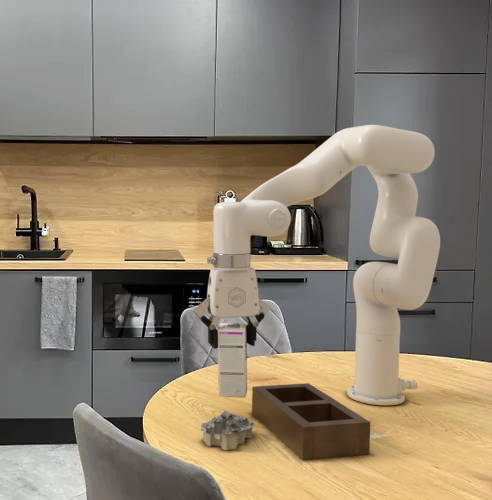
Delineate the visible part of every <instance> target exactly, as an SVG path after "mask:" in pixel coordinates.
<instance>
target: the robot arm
mask: <svg viewBox="0 0 492 500" xmlns="http://www.w3.org/2000/svg"><path fill="white" fill-rule="evenodd" d="M435 154H436V151H435V146H434V143H433V142H432V140H431V139H430V138H429V137H428V136H427V135H425V134H423V133H420V132H417V131H413V130H407V129H401V128H395V127H391V126H387V125H380V124H364V125H358V126H352V127H346V128H343V129H340V130H338V131H337V132H335V133H334V134H332V136H330V137H329V138H328V139H326V140H325V141H324V142H323V143H322V144H321V145H319V146H318V147H317V148H316V149H314V150H313V151H312V152H311V153H310V154H309V155H307V156H306V157H305V158H303V159H302V160H301V161H299V162H298V163H296V164H295V165H293V166H291V167H289V168H288V169H286V170H284V171H283V172H281V173H279V174H277V175H275V176H274V177H271V178H270V179H269V180H267V181H265V182H264V183H262V184H261V185H259V186H258V187H256V188H255V189H254V190H253V191H251V192H250V193H249V194H248V195H247V196H246V197H244V198H243V199H242V200H241V201H222V202H221V201H220V202H218V203H216V204H215V205H214V207H213V214H212V215H213V217H212V218H213V220H212V221H213V224H212V225H213V253H212V255H211V256H208V257H207V258H206V262H207V264H209V265H210V264H211V265H212V266H213V267H211V268H210V272H209V277H208V284H207V292H206V298H205V299H204V300H203V301H202V302H201V303H199V304H198V305H197V306H196V307H195V308H194V309H193V313H194V314H195V315H196V317H197V318H198V319H199V320H200V321H201V322H202V323H203V324H204V325H205V326H206V327H207V342H208V344H209V346H210V347H211V348H213V350H214V349H216V350H218V328H217V326H218V323H219V321H220V320H221V319H238V318H245V319H246V321H247V324H246V339H247V345H249V346H251V347H255V346H256V341H257V327H259V325H260V323H261V322H262V320H264V318H265V316H266V315H267V314H268V312H269V311H270V309H271V306H270V305H269V304H268V303H267V302H265V301H264V300H262V298H260V296H259V287H258V281H257V280H258V279H257V274H256V270H255V269H256V268H255V267H251V236H258V237H259V236H260V237H270V238H273V237H277V236H280V235H282V234H283V233H285V232H286V231H287V230H288V228H289V227H290V225H291V221H292V216H291V212H290V210H289V208H288V207H290V206H293V205H295V204H298V203H301V202H306V201H309V200H312V199H315V198H318V197H321V196H322V195H324V194H326V193H328V191H329V190H330V189H331V188H333V187H334V186H335V185H336V184H337V183H339V181H341V180H342V179H343V178H344V177H346V176H347V175H348V174H350V173H351V171H353V170H354V169H355V168H357V167H364V166H365V167H366V168H367V170H368V171H369V173H370V174H371V176H372V177H373V179H374V182H375V184H376V186H377V187H376V188H377V191H378V193H377V194H378V196H377V202H376V208H375V211H374V216H373V220H372V225H371V230H370V234H369V247H370V249H371V251H373V252H374V253H375V254H377V255H379V256H382V257H386V258H394V259H398V260H397V263H393V262H386V261H368V262H366V263H364V264H362V265H360V266H359V267H358V268H357V270H356V271H355V273H354V275H353V279H352V287H353V288H352V289H353V295H354V301H355V310H356V311H355V313H356V319H355V320H356V323H355V325H356V326H355V327H356V328H355V351H354V353H355V354H354V384H353V385H350V386H349V387H348V388H347V389H346V395H347V396H348V397H349V398H350V399H352V400H354V401H357V402H359V403H363V404H368V405H374V406H396V405H397V406H398V405H400V404H403V403H404V402H405V401H406V395H405V393H403V391H405V390H416V389H417V388H418V382H417V381H416V380H413V379H412V380H405V379H404V378H399V374H400V373H399V372H400V371H399V370H400V346H401V345H400V343H401V318H400V314H399V312H398V309H401V310H406V311H412V310H416V309H418V308H420V307H421V306H423V305H424V303H426V302H427V299H428V297H429V295H430V292H431V289H432V285H433V281H434V278H435V277H434V276H435V271H436V267H437V263H438V258H439V256H440V255H439V254H440V249H441V236H440V235H441V234H440V230H439V228H438V227H437V225H436V224H435V223H434V222H433V221H432V220H431V219H429V218H427V217H422V216H416V214H417V207H418V201H419V192H418V188H417V185H416V182H415V180H414V178H413V177H412V175H411V174H418V173H421V172H423V171H425V170H427V169H428V168H429V167H430V166H431V165H432V164H433V162H434V159H435V156H436V155H435ZM205 310H207V313H208V314H210V315H209V317H207V316H206V315H205V313H204V312H205Z"/></svg>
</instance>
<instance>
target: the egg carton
mask: <svg viewBox="0 0 492 500" xmlns="http://www.w3.org/2000/svg"><path fill="white" fill-rule="evenodd" d="M255 423H256V421H255V420H254V419H253V420H251V421H250V420H249V419H248V417H247V416H245V417H243V416H241V415H238V414H236V413H234V414H233V413H232V412H230V411H227V410H223V412H222V413H220V414H219V415H217V416H213V418H212V419H210V420H207V422H202V423H201V425H200V431H201V432H202V441H203V442H204V443H205V445H206V446H208V447H212V446H218V447H221V450H222V451H223V450H224V451H228V450H237V449H238V445H243V444H244V443H245V441H246V439H252V438H253V436H254V435H253V429H254V427H255V425H256V424H255Z"/></svg>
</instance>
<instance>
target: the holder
mask: <svg viewBox="0 0 492 500" xmlns="http://www.w3.org/2000/svg"><path fill="white" fill-rule="evenodd" d="M251 392H252V393H251V414H252V416H253V417H254V418H255V419H257V420H258V421H259V422H260V423H261V424H262V425H263V426H265V428H267V429H268V430H269V431H270V432H271V433H272V434H273V435H274V436H275V437H277V438H278V440H280V441H281V442H282V443H283V444H284V445H286V446H287V447H288V449H290V450H291V451H292V452H293V453H294V454H295V455H296V456H298V458H300V459H301V460H302V461H308V460H317V459H319V460H320V459H331V458H343V457H351V456H353V457H354V456H366V455H370V451H371V450H370V448H371V447H370V445H371V421H370V420H368V419H367V418H365V417H363V416H361V415H360V414H359V413H357V412H355V411H353V410H352V409H350V408H349V407H347V406H346V405H344V404H342V403H341V402H339V401H338V400H336V399H334V398H333V397H331V396H330V395H328V394H327V393H325V392H324V391H322V390H320V389H318V388H317V387H315V386H314V385H312V384H311V383H308V382H307V383H291V384H290V383H289V384H275V385H259V386H258V385H257V386H252V391H251Z"/></svg>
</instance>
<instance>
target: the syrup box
mask: <svg viewBox="0 0 492 500" xmlns="http://www.w3.org/2000/svg"><path fill="white" fill-rule="evenodd" d="M246 325H247V324H246V323H241V322H223V323H219V326H218V327H217V330H218V348H217V370H218V372H217V374H218V376H217V377H218V379H217V380H218V383H217V384H218V396H219V397H224V398H236V399H237V398H239V399H241V398H243V399H245V398H247V393H248V346H247V345H248V343H247V339H246Z"/></svg>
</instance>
